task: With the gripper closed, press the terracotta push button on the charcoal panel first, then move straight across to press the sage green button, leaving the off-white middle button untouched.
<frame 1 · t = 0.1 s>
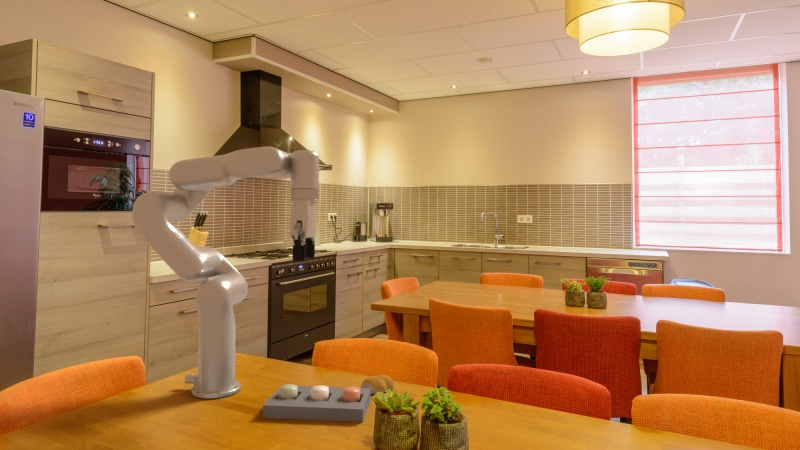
hand: (304, 259, 126), 37 cm above the table, tool pointing down, fingers open, 9 cm apart
white button: (319, 395, 117), point 3 cm above the table, slide at 0.0 cm
terracotta button: (351, 396, 116), point 3 cm above the table, slide at 0.0 cm
sage button: (288, 394, 117), point 3 cm above the table, slide at 0.0 cm
bread roll: (377, 390, 131), on the table
button panel: (319, 408, 117), on the table
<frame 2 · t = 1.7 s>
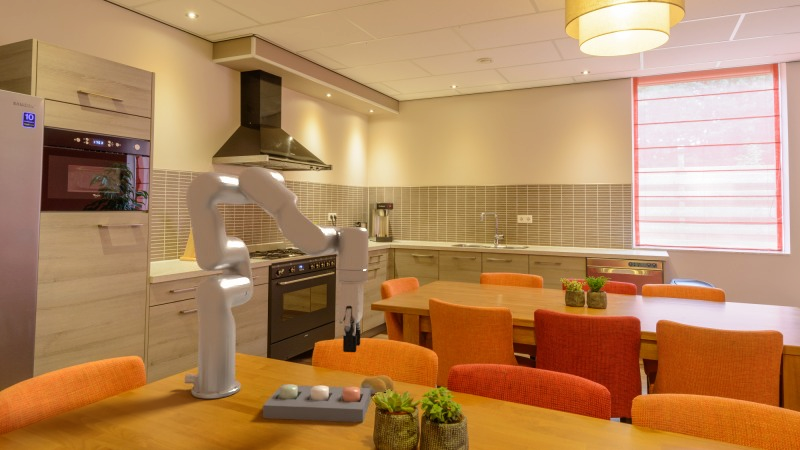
hand: (351, 347, 116), 15 cm above the table, tool pointing down, fingers open, 5 cm apart
nothing on the table moved.
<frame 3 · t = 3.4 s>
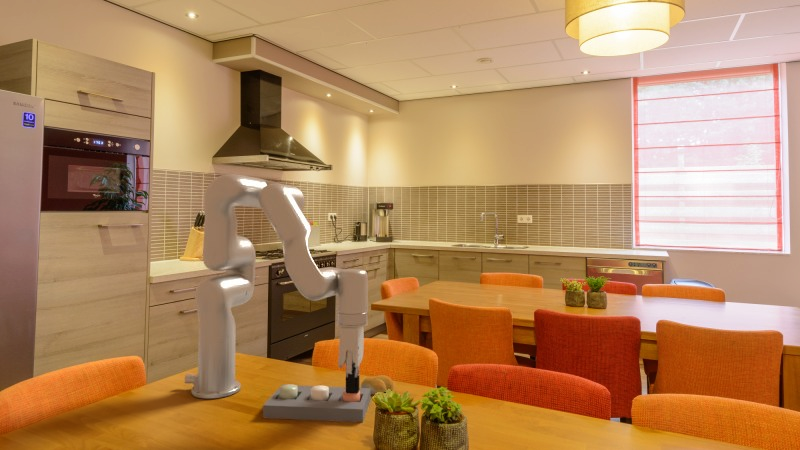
hand: (352, 391, 116), 4 cm above the table, tool pointing down, fingers closed
terracotta button: (351, 399, 116), point 3 cm above the table, slide at 0.6 cm, touching gripper
everything else where it was.
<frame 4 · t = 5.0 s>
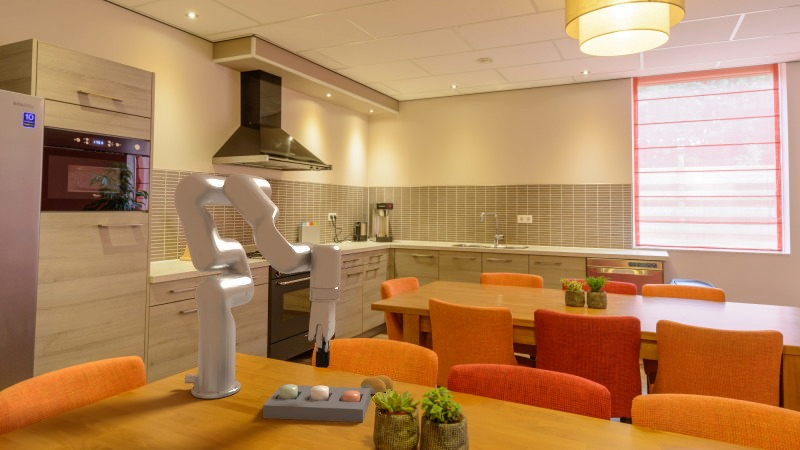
hand: (322, 366, 117), 11 cm above the table, tool pointing down, fingers closed
terracotta button: (351, 400, 116), point 2 cm above the table, slide at 1.0 cm
everything else where it was.
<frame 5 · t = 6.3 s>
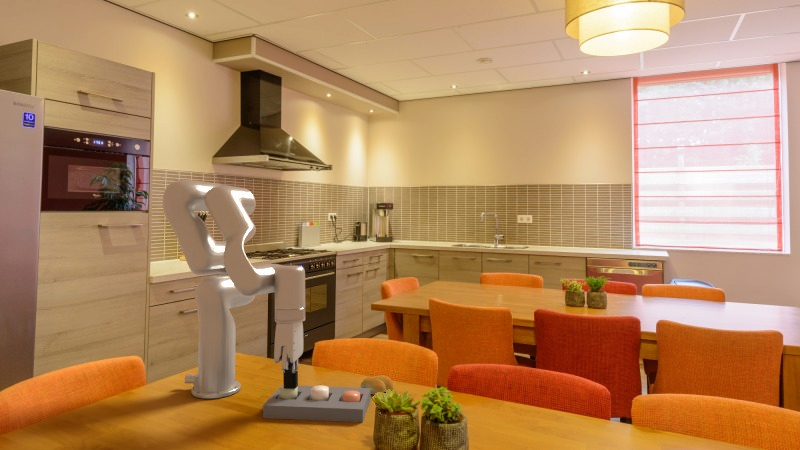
hand: (290, 387, 117), 5 cm above the table, tool pointing down, fingers closed
sage button: (288, 394, 117), point 3 cm above the table, slide at 0.0 cm, touching gripper
everything else where it was.
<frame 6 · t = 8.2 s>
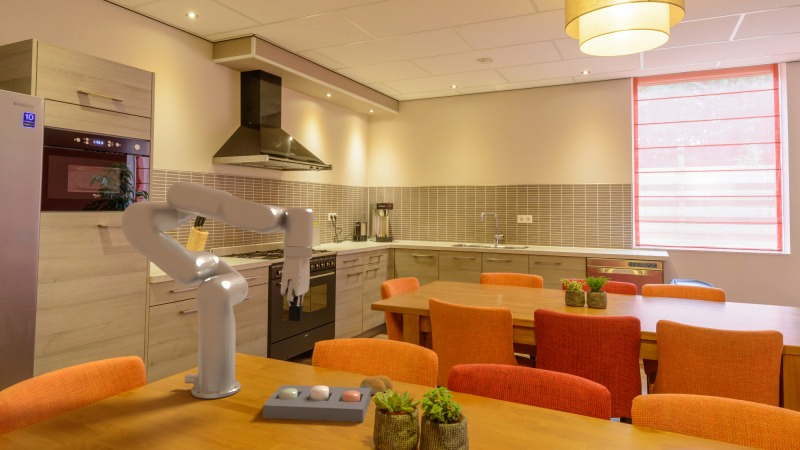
hand: (295, 320, 126), 20 cm above the table, tool pointing down, fingers closed
sage button: (288, 398, 117), point 2 cm above the table, slide at 1.0 cm
everything else where it was.
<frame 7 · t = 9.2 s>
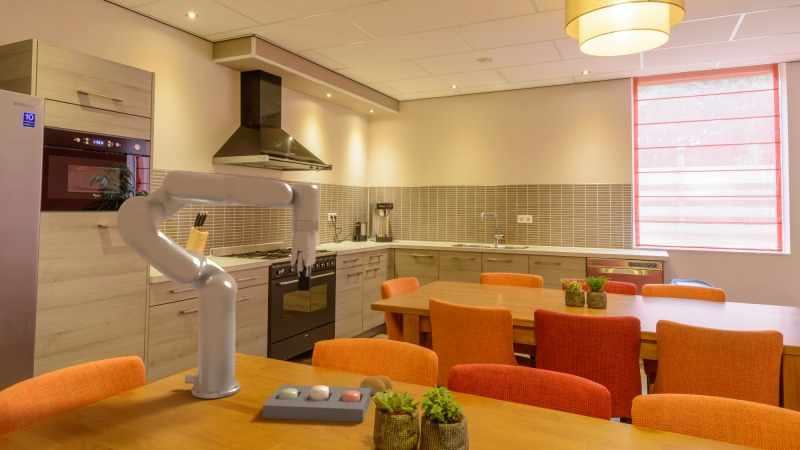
hand: (304, 290, 134), 27 cm above the table, tool pointing down, fingers closed
nothing on the table moved.
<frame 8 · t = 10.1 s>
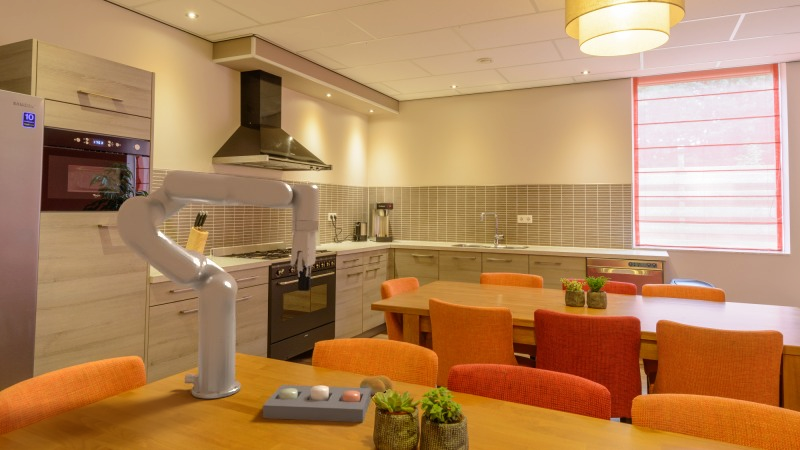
hand: (304, 290, 134), 27 cm above the table, tool pointing down, fingers closed
nothing on the table moved.
at the end: terracotta button slide at 1.0 cm; sage button slide at 1.0 cm; white button slide at 0.0 cm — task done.
